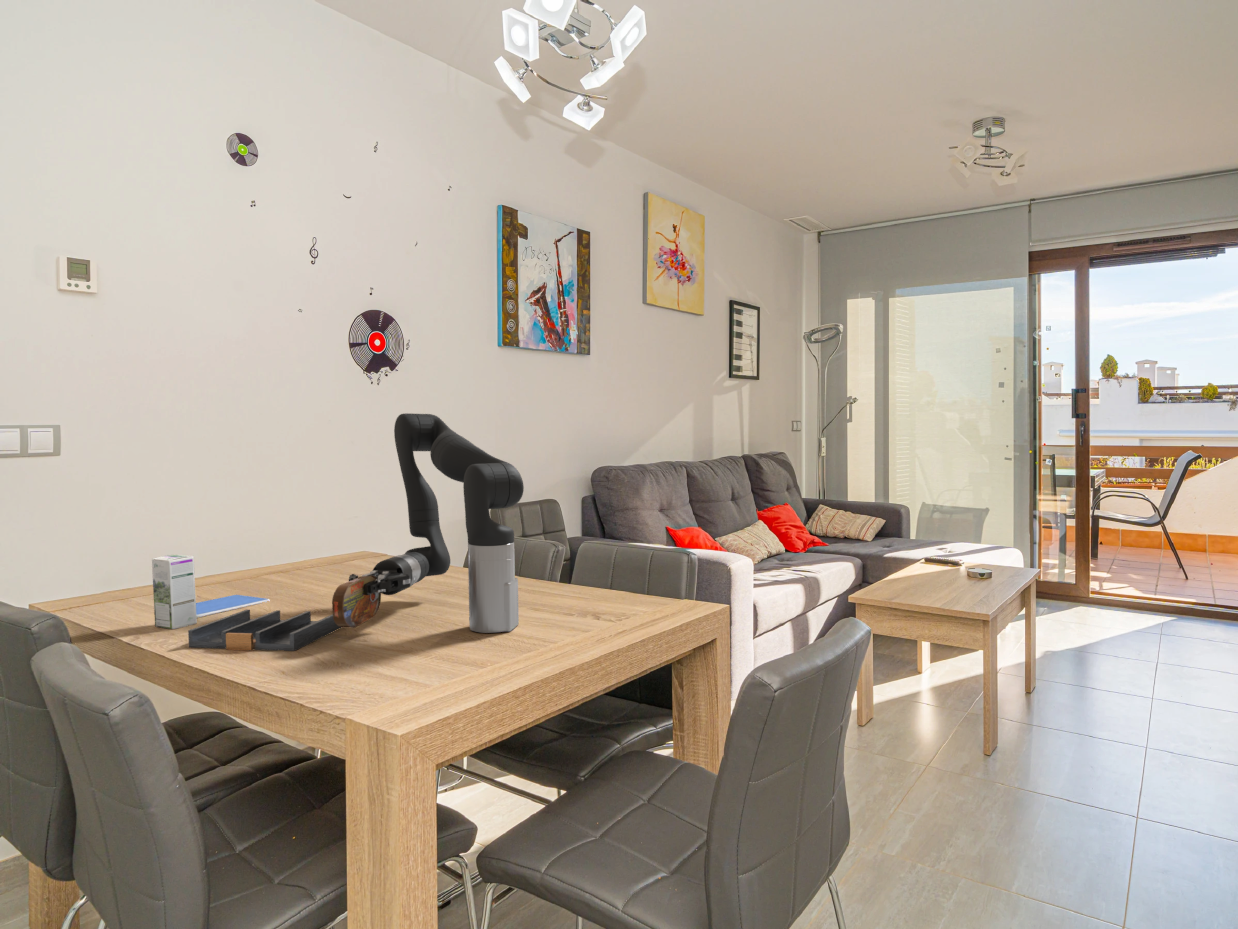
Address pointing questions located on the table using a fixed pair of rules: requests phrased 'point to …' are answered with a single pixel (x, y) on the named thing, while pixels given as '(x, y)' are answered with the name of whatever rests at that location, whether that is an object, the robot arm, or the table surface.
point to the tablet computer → (226, 604)
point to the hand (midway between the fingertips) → (358, 589)
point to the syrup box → (174, 591)
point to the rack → (261, 632)
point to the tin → (354, 603)
